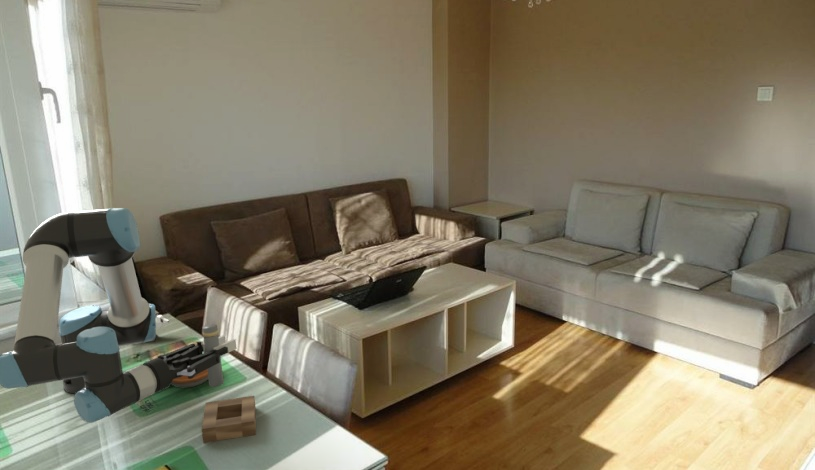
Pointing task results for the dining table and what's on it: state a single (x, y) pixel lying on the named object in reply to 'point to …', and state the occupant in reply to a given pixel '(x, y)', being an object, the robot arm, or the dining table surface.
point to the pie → (191, 380)
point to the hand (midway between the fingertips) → (229, 342)
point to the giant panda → (160, 323)
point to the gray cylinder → (210, 342)
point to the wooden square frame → (229, 419)
